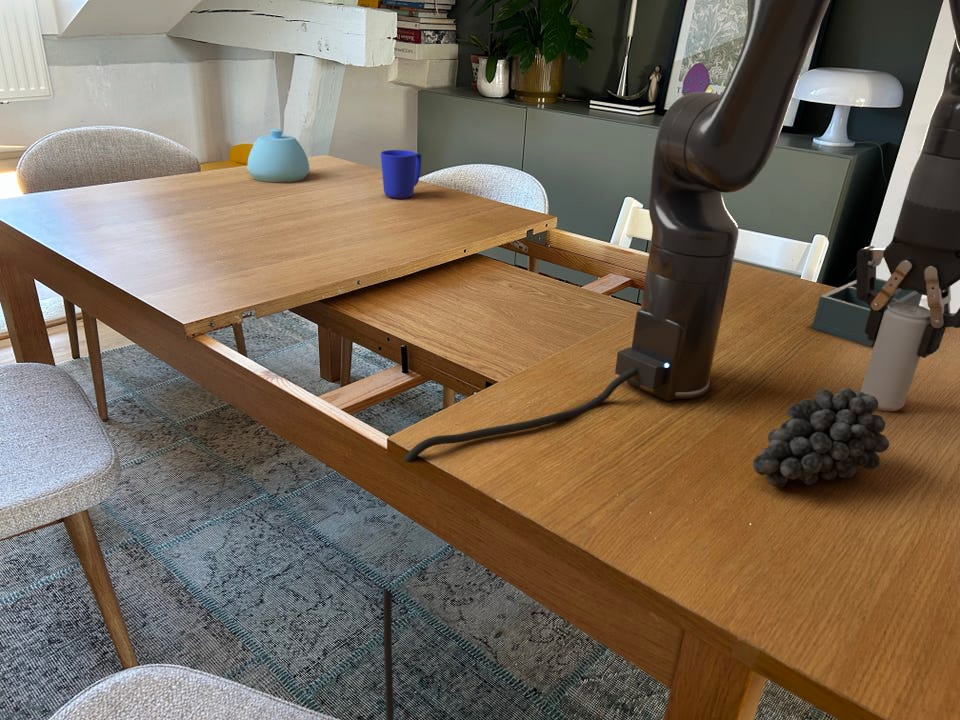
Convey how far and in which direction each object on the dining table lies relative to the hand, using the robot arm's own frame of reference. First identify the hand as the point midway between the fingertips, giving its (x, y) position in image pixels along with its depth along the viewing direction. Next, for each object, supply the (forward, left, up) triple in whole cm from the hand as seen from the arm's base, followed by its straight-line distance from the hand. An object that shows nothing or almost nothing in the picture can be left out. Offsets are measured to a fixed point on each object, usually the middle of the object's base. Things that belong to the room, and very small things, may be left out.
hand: (898, 346), depth 84 cm
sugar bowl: (+2, +148, -8) cm, 148 cm away
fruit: (-22, -1, -8) cm, 23 cm away
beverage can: (0, 0, -8) cm, 8 cm away
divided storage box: (+25, +12, -7) cm, 29 cm away
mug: (+17, +116, -8) cm, 117 cm away
